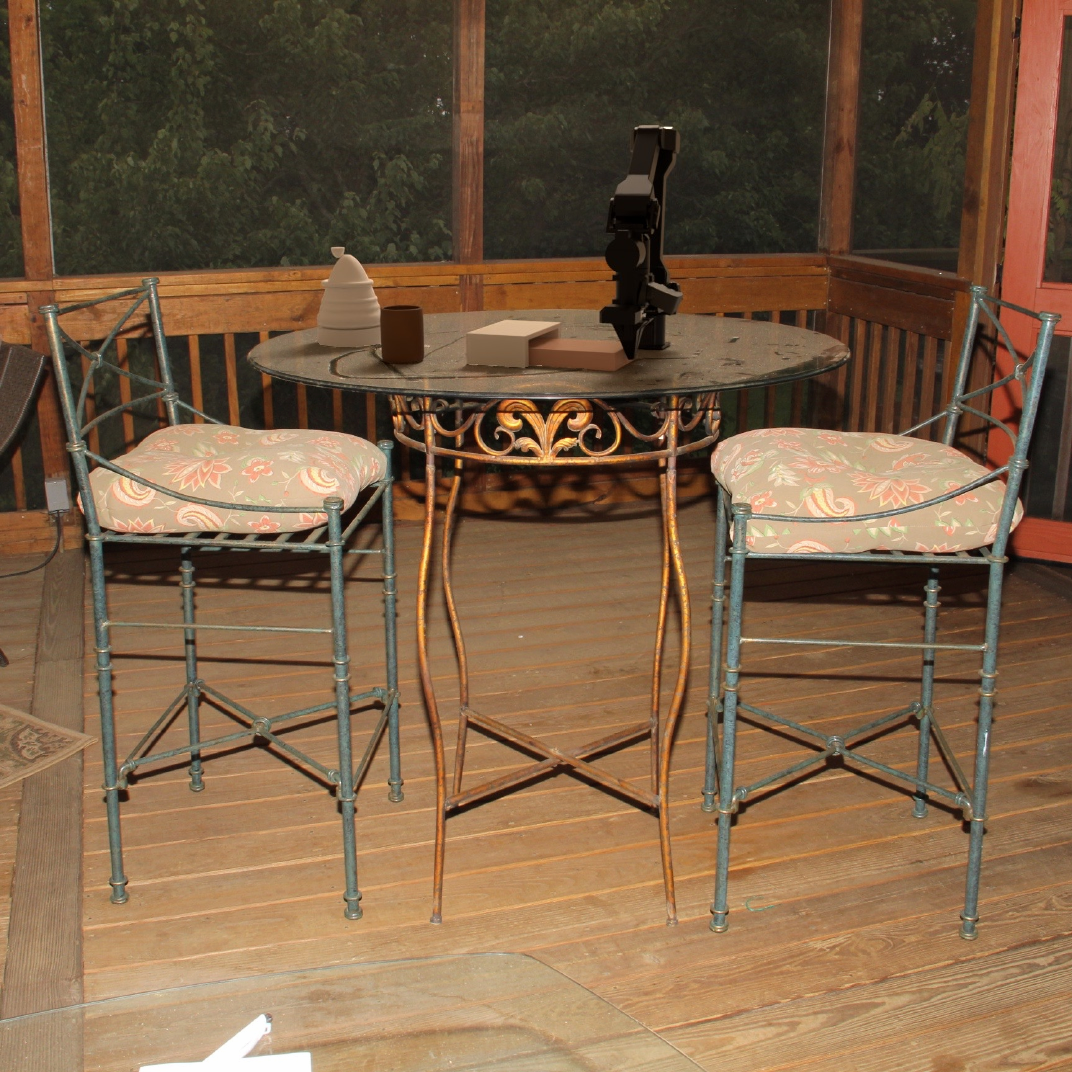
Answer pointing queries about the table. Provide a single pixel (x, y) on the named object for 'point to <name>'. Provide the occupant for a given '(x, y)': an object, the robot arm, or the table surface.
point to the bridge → (507, 342)
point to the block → (577, 353)
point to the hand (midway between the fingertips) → (631, 359)
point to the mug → (402, 334)
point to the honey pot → (348, 306)
